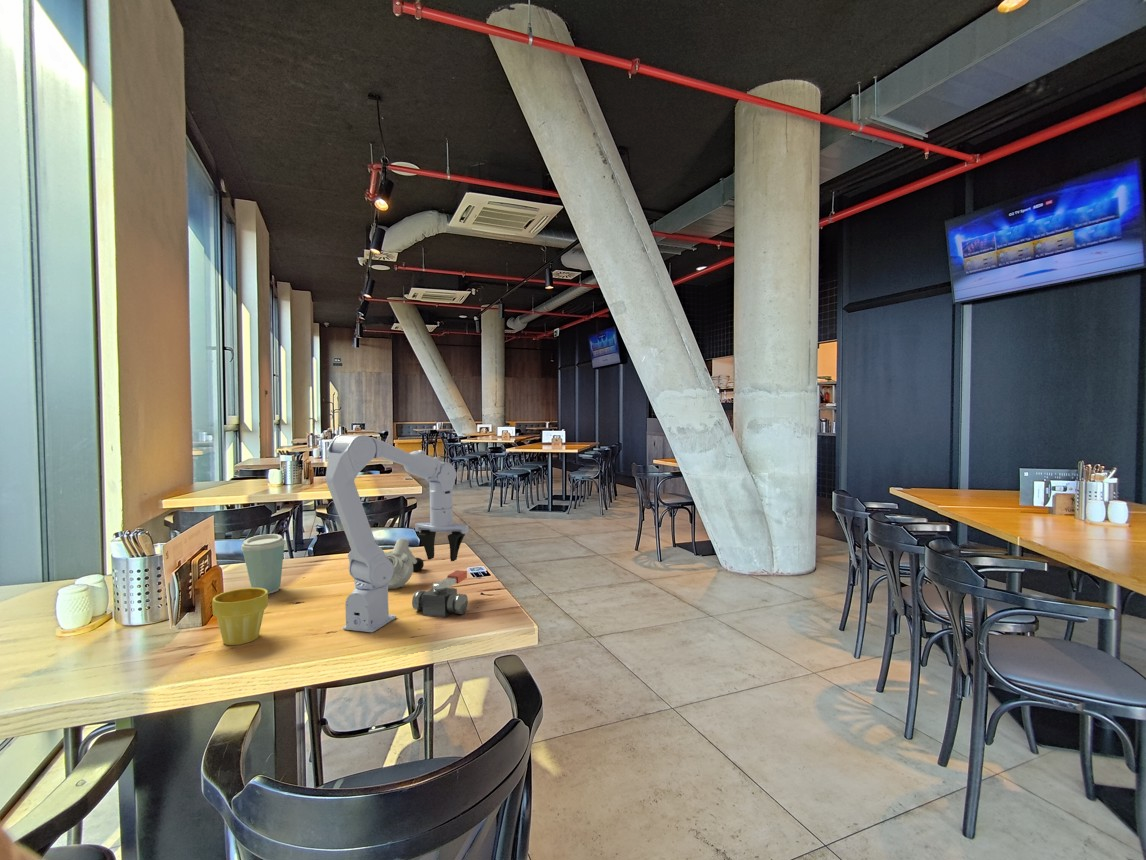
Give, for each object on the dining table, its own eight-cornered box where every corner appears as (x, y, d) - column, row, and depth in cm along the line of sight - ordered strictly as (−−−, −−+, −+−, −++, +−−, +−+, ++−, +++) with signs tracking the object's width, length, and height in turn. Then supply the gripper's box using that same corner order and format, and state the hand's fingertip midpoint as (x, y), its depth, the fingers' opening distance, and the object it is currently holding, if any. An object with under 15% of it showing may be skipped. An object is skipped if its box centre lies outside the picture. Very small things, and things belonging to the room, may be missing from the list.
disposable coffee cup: (284, 594, 147) (282, 539, 146) (238, 600, 143) (236, 543, 142) (289, 583, 157) (287, 531, 156) (246, 588, 153) (244, 535, 152)
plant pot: (278, 629, 123) (277, 586, 123) (251, 649, 113) (250, 602, 113) (232, 629, 123) (231, 587, 123) (201, 649, 113) (200, 603, 113)
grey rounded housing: (420, 609, 161) (436, 563, 171) (399, 582, 146) (417, 532, 155) (388, 605, 163) (405, 559, 172) (363, 578, 148) (383, 529, 157)
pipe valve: (457, 618, 128) (457, 597, 128) (410, 613, 132) (410, 593, 132) (469, 609, 134) (468, 589, 134) (423, 605, 138) (423, 585, 138)
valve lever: (442, 593, 131) (442, 585, 131) (430, 592, 132) (430, 585, 132) (467, 577, 144) (467, 570, 144) (456, 576, 144) (456, 569, 144)
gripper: (473, 506, 144) (474, 557, 144) (424, 504, 147) (425, 553, 148) (461, 510, 137) (461, 564, 137) (410, 508, 141) (411, 560, 141)
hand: (442, 559), depth 142 cm, fingers open, 6 cm apart
